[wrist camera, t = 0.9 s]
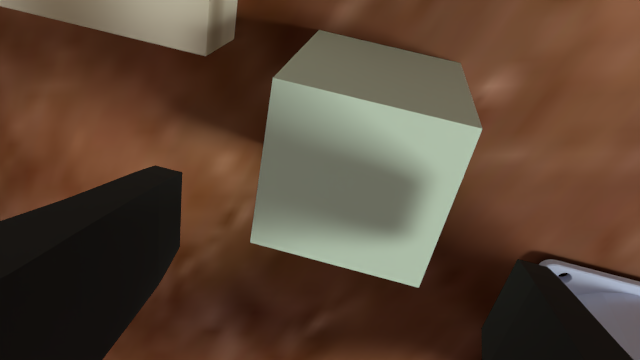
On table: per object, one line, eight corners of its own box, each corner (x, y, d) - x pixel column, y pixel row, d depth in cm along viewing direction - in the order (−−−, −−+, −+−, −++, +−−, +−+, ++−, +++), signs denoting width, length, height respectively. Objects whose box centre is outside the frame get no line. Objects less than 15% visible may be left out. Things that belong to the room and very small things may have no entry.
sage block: (460, 62, 16) (482, 128, 11) (418, 185, 18) (418, 287, 13) (319, 29, 16) (272, 77, 11) (296, 154, 19) (250, 242, 13)
